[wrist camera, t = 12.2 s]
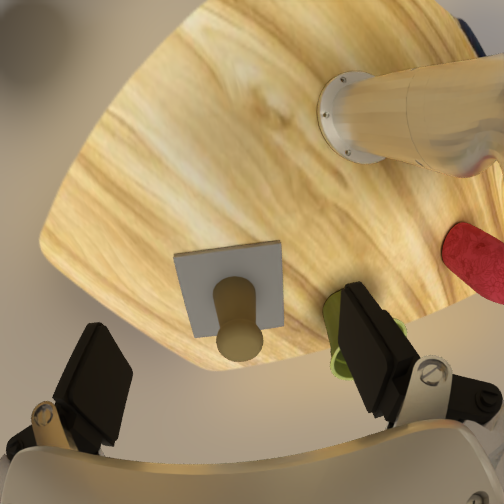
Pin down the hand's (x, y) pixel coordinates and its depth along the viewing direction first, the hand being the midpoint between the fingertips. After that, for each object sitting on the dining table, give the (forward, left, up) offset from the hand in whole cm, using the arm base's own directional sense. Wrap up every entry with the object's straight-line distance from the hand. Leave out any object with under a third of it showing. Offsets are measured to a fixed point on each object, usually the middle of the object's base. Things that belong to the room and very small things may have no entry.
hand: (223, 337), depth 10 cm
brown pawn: (0, +14, -24) cm, 28 cm away
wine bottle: (-42, +12, -25) cm, 50 cm away
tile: (0, +14, -25) cm, 29 cm away
